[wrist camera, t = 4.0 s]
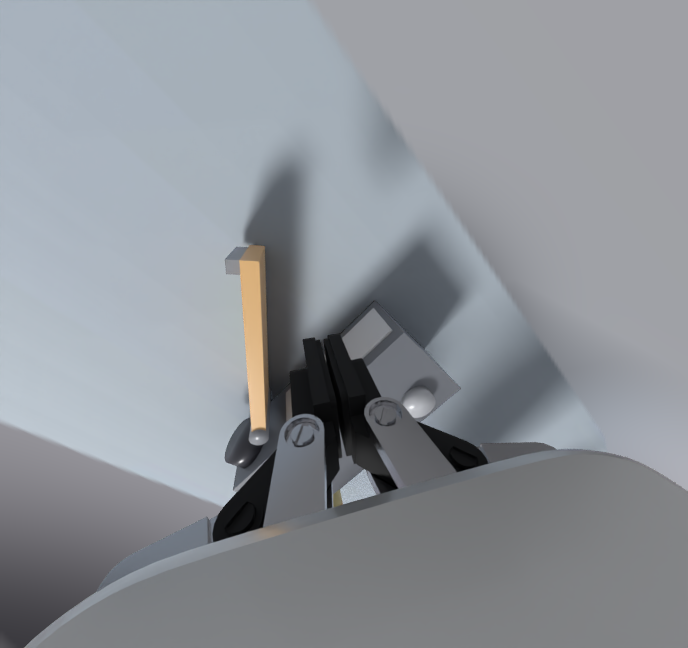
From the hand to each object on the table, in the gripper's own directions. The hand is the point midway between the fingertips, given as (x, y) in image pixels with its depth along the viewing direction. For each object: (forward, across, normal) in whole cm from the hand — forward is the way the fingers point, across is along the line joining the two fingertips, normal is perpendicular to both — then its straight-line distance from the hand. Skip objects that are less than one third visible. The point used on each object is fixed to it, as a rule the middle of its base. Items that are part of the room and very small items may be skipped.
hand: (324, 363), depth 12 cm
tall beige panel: (+10, +4, +3) cm, 11 cm away
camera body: (+10, -2, +11) cm, 15 cm away
